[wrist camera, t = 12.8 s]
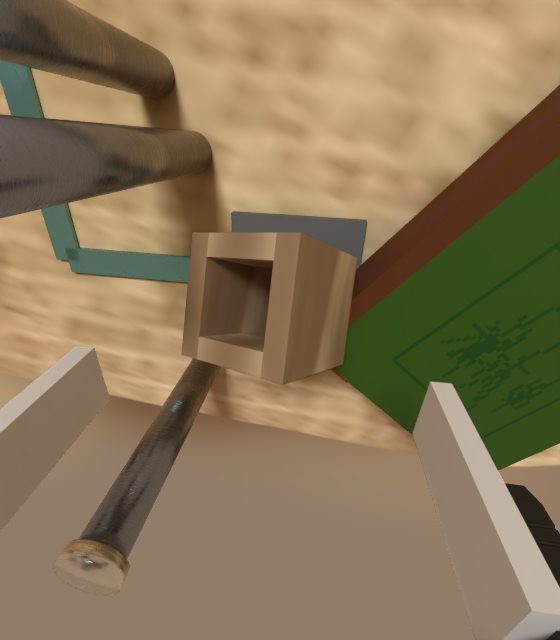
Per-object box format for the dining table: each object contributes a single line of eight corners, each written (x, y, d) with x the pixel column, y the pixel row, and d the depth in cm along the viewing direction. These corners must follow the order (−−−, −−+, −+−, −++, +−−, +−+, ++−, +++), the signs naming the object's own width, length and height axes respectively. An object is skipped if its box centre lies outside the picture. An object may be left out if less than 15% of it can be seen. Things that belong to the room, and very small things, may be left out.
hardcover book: (682, -26, 14) (790, -77, 11) (821, 256, 19) (926, 281, 16) (297, 322, 25) (294, 349, 22) (446, 448, 29) (462, 486, 26)
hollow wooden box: (258, 344, 23) (181, 354, 17) (268, 254, 23) (192, 232, 17) (342, 364, 20) (282, 385, 14) (357, 258, 19) (300, 232, 13)
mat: (237, 324, 26) (235, 327, 26) (233, 211, 22) (231, 213, 22) (347, 335, 26) (347, 339, 25) (366, 219, 21) (366, 221, 21)
